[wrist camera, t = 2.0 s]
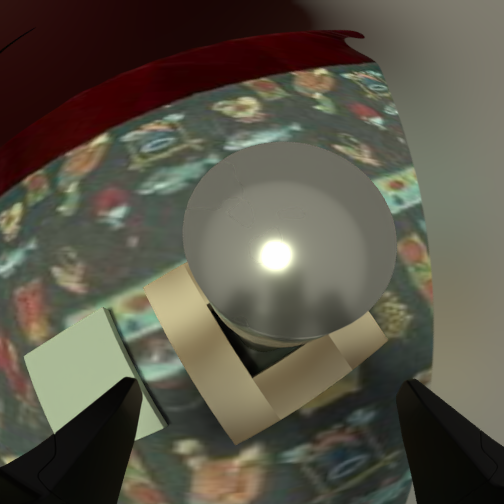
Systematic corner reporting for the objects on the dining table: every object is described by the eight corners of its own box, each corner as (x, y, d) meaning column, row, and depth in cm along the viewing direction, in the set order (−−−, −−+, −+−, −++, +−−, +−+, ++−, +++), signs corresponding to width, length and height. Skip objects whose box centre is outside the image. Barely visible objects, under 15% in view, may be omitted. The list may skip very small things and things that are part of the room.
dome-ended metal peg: (310, 333, 20) (431, 255, 6) (253, 370, 19) (261, 386, 5) (273, 280, 21) (311, 121, 7) (218, 313, 20) (150, 195, 6)
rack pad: (167, 425, 17) (163, 428, 16) (76, 460, 15) (70, 463, 14) (108, 309, 20) (102, 307, 19) (30, 357, 18) (23, 356, 17)
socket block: (373, 343, 19) (388, 340, 17) (237, 435, 17) (235, 445, 14) (285, 221, 23) (289, 204, 21) (154, 296, 21) (142, 287, 18)
